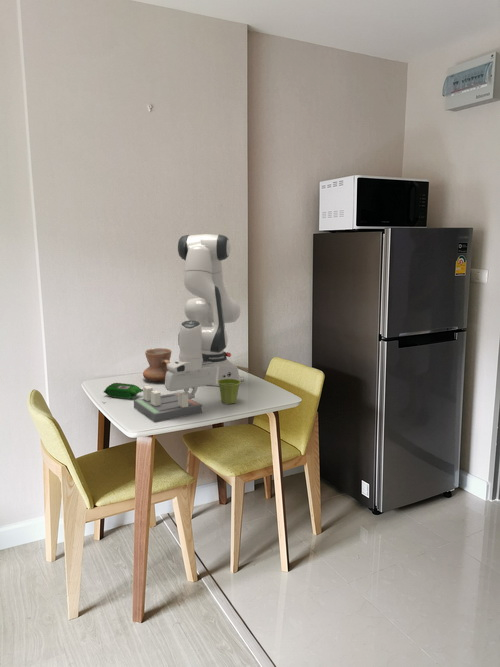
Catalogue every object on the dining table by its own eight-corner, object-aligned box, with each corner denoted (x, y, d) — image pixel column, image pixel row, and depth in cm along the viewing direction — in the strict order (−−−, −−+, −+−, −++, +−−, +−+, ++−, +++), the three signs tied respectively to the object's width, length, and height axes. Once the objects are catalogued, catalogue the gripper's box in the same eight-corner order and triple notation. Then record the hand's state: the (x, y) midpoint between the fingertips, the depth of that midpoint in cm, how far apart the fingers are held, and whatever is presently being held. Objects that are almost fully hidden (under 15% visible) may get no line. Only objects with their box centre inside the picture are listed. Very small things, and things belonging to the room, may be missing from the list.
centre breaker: (156, 402, 206) (156, 390, 205) (160, 405, 203) (160, 392, 202) (150, 403, 205) (150, 391, 204) (154, 406, 202) (154, 393, 201)
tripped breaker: (183, 404, 205) (183, 391, 204) (188, 406, 202) (188, 394, 201) (178, 405, 204) (178, 392, 203) (182, 407, 201) (182, 395, 200)
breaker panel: (179, 399, 221) (179, 392, 220) (201, 412, 206) (201, 404, 205) (133, 407, 210) (133, 400, 209) (154, 422, 194) (154, 414, 194)
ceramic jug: (136, 378, 250) (135, 348, 247) (163, 373, 259) (163, 345, 256) (154, 387, 236) (153, 356, 233) (182, 382, 245) (182, 352, 242)
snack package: (135, 401, 217) (135, 389, 216) (102, 397, 222) (102, 385, 221) (144, 396, 224) (144, 384, 223) (111, 392, 228) (111, 380, 227)
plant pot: (220, 397, 224) (220, 377, 223) (242, 399, 223) (242, 379, 221) (215, 404, 215) (215, 384, 214) (238, 406, 214) (238, 385, 212)
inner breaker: (149, 397, 212) (149, 385, 211) (152, 400, 209) (152, 387, 208) (143, 398, 210) (143, 386, 209) (147, 401, 208) (146, 388, 207)
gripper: (209, 358, 210) (209, 392, 213) (162, 365, 198) (163, 400, 201) (218, 362, 205) (217, 396, 208) (170, 369, 193) (170, 405, 196)
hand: (190, 398), depth 204 cm, fingers closed
